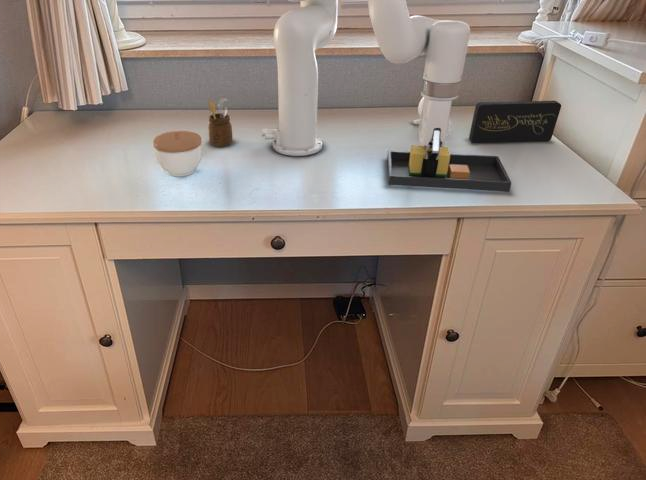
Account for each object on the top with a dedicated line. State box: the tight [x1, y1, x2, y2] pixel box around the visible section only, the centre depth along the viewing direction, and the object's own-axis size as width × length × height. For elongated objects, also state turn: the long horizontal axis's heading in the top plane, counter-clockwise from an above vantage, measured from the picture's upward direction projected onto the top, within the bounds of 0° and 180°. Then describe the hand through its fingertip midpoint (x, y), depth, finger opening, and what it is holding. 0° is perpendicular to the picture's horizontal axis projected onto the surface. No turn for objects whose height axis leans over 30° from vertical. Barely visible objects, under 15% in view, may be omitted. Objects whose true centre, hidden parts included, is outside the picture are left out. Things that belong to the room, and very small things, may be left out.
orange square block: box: [448, 164, 470, 179], centre depth 115 cm, size 4×4×2 cm
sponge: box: [408, 145, 451, 177], centre depth 114 cm, size 8×5×5 cm, turn 82°
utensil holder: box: [207, 97, 233, 148], centre depth 130 cm, size 6×6×12 cm
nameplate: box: [468, 100, 562, 144], centre depth 130 cm, size 21×2×10 cm, turn 93°
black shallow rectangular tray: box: [386, 150, 512, 193], centre depth 115 cm, size 25×14×3 cm, turn 82°
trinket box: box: [152, 130, 203, 178], centre depth 116 cm, size 11×11×9 cm
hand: (427, 169), depth 116 cm, fingers closed on sponge, 5 cm apart
